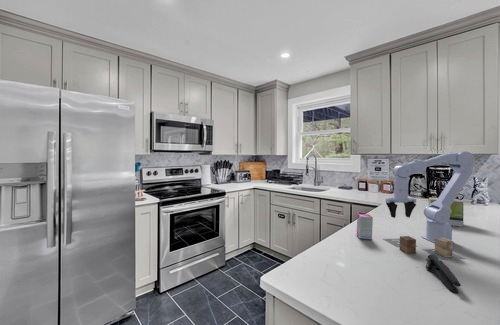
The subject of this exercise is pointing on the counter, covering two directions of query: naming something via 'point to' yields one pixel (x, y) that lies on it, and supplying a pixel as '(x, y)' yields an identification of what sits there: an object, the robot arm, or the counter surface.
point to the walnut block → (408, 244)
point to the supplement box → (364, 226)
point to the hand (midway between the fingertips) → (400, 217)
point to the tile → (394, 242)
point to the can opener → (442, 272)
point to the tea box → (454, 212)
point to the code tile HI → (453, 257)
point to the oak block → (443, 246)
